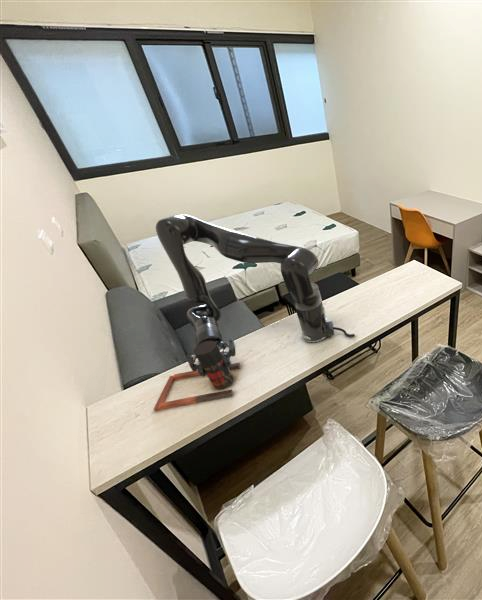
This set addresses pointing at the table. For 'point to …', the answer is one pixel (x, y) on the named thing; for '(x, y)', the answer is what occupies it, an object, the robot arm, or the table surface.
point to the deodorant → (214, 365)
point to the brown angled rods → (191, 400)
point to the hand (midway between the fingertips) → (215, 369)
